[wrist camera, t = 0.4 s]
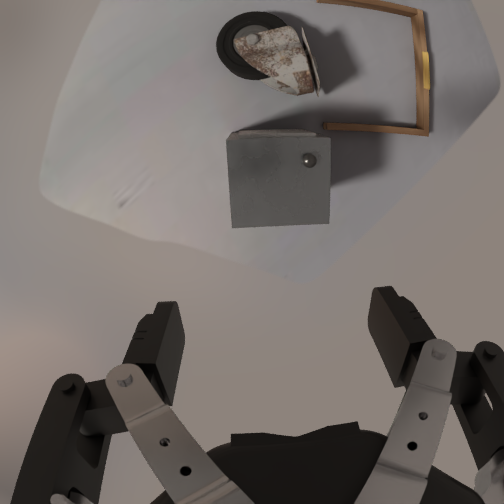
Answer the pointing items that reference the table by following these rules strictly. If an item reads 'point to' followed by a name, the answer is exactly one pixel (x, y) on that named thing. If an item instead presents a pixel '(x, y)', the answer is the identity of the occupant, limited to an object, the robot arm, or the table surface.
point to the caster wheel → (268, 53)
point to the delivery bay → (421, 65)
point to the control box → (279, 177)
